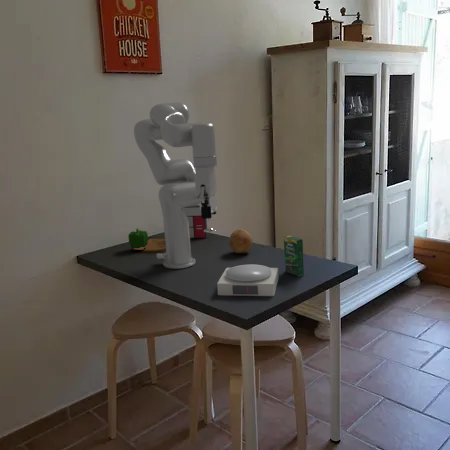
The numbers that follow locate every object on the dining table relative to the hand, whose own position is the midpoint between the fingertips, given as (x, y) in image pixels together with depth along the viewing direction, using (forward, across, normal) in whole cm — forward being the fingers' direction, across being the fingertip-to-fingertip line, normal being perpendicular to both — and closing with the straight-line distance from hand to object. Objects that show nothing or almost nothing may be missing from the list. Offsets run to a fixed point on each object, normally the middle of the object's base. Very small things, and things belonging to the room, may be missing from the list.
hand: (209, 215), depth 171 cm
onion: (+24, -36, +3) cm, 43 cm away
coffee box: (+24, -12, +26) cm, 38 cm away
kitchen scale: (+24, +2, +13) cm, 27 cm away
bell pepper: (+23, -40, -43) cm, 64 cm away
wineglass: (+5, 0, 0) cm, 5 cm away
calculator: (+23, -60, -23) cm, 69 cm away
